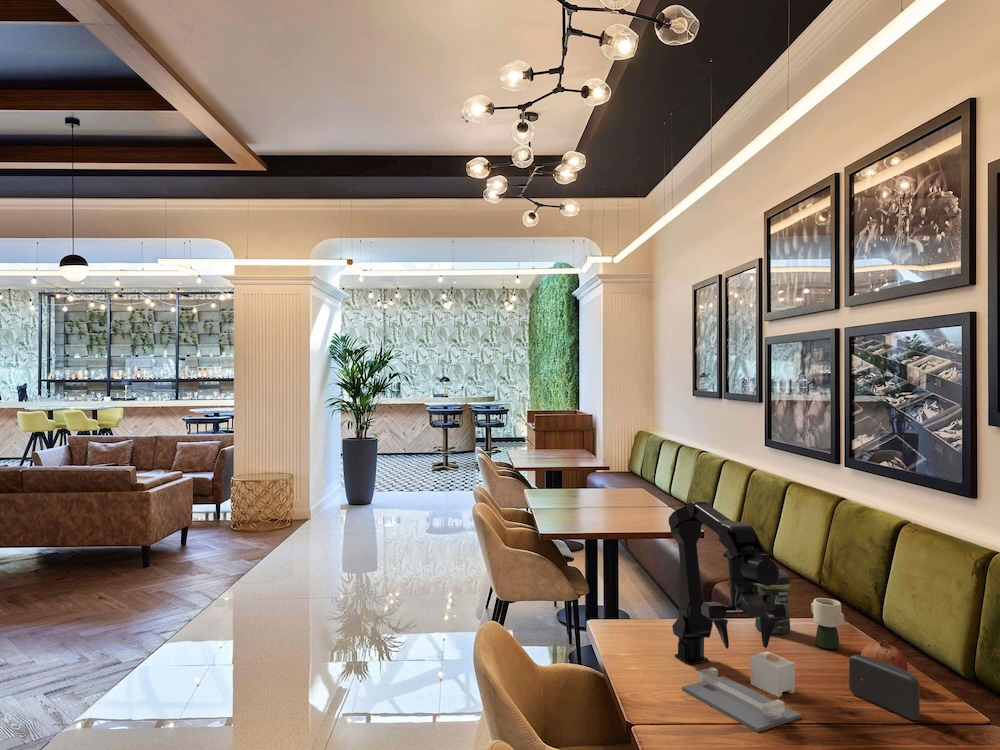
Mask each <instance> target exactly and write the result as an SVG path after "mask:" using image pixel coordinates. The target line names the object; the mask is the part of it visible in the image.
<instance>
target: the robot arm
mask: <svg viewBox="0 0 1000 750" xmlns="http://www.w3.org/2000/svg"><path fill="white" fill-rule="evenodd" d="M668 525H669V528H670V533H671V536H672V538H673V539H674V540H675V542H677V545H678V546H677V547H678V553H679V554H678V555H679V564H680V566H679V567H680V575H681V585H682V587H681V588H682V593H683V599H682V602H681V604H680V606H679V608H678V618H677V619H676V620H675V622H674V623H673V624H672V626H671V627H672V632H673V635H674V636H676V637H678V642H677V653H674V657H675V658H677V659H679V660H681V661H683V662H685V663H687V664H688V665H696V664H699V663H700V664H701V663H704V662H708V661H709V658H708V657H705V639H706V638H708V639H709V638H710V637H711V634H712V630H713V624H714V626H715V628H716V629H717V632H718V633H719V637H720V639H721V641H722V644H723V646H724V648H725V649H726V650H728V649H729V645H730V643H729V635H728V627H727V626H728V624H729V623H728V622H729V620H728V619H726V616H728V615H740V614H741V615H743V614H744V616H745V617H747V618H749V619H754V618H756V617H760V624H761V631H760V632H761V641H762V646H763V648H764V649H766V648H768V645H769V642H770V638H771V635H772V634H771V632H772V630H773V627H774V625H775V624H776V623H777V622H778V621H782V618H780V617H788V615H787V608H786V606H785V605H784V604H782V603H779V602H777V601H775V599H774V596H773V595H772V594H764V595H759V592H758V586H757V583H758V584H762V585H766V586H771V585H773V584H775V582H776V581H777V579H778V576H779V570H778V569H779V568H778V566H777V565H776V563H775V562H774V561H773V560H771V557H770V554H768V553H766V550H765V547H764V545H763V544H762V542H761V540H760V538H759V537H758V534H757V532H756V531H755V529H754V527H753V526H751V525H750V524H747V523H744V522H741V521H740V522H739V521H735V520H733V519H730V518H729V517H727V516H726V515H724V514H723V513H721V512H720V511H719V510H717V509H715V508H714V507H713V506H711V505H710V503H709V502H707V501H704V500H702V501H699V500H698V501H691V502H688V503H687V504H686V505H684V506H682V507H680V508H678V509H676V510H674V511H672V513H671V514H670V516H669V517H668ZM703 525H705V526H706V527H707V528H708V529H710V531H712V532H714V533H715V534H717V536H718V541H719V542H720V543H721V545H723V547H724V548H725V549H726V551H724V552H723V554H722V556H723V558H727V566H728V567H727V568H728V581H726V583H727V587H729V599H727V600H728V604H729V605H724V604H722V603H720V602H718V601H705V600H704V599H703V592H702V591H703V589H702V583H701V574H700V563H699V555H698V554H699V553H698V542H699V539H700V538H701V535H702V526H703Z"/></svg>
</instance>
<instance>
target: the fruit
mask: <svg viewBox="0 0 1000 750" xmlns="http://www.w3.org/2000/svg"><path fill="white" fill-rule="evenodd" d="M860 656H865V657H870V658H874V659H877V660H881V661H884V662H887V663H889V664H892V665H895V666H897V667H899V668H901V669H903V670H905V671H907V672H908V671H909V670H908V669H909V668H908V667H909V666H908V665H909V664H908V661H907V658H906V657H905V655H904V654H903V652H902V651H901V650H900V649H898V648H897V647H895V646H893V645H890V644H889V642H888V641H886V640H884V639H882V640H881V641H879V642H874V643H869V644H866V646H865V647H864V648H863V649H862V650H861V653H860Z"/></svg>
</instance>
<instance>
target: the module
mask: <svg viewBox="0 0 1000 750" xmlns="http://www.w3.org/2000/svg"><path fill="white" fill-rule="evenodd" d="M750 685H752V686H754V687H755V688H757V689H760V690H762V689H763V690H762V691H763V692H766V691H767V692H766V693H768V692H769V693H768V694H770V693H771V694H770V695H772V694H774V695H776V696H778V697H777V698H780V697H779V696H782V697H783V692H787V691H789V692H794V691H795V692H796V662H793V661H792V660H788V659H786V658H784V657H782V656H780V655H776V654H775V653H772V652H769V651H764V652H759V653H755V654H751V655H750ZM789 692H788V693H789ZM774 695H773V696H774ZM776 696H775V697H776Z"/></svg>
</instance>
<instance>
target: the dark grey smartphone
mask: <svg viewBox="0 0 1000 750" xmlns="http://www.w3.org/2000/svg"><path fill="white" fill-rule="evenodd" d="M848 673H849V675H848V681H849V683H848V684H849V686H848V687H849V688H848V689H849V691H850V692H851V694H853V695H854V696H856V697H858V696H859V697H858V698H860V699H863V700H866V701H867V700H868V701H867V702H869V701H870V703H872V702H873V703H872V704H874V703H875V704H874V705H876V704H877V705H876V706H878V705H879V707H881V708H883V707H884V709H885V708H886V709H885V710H887V709H888V710H887V711H890V712H892V711H893V712H892V713H894V712H895V713H894V714H896V713H897V715H899V716H901V715H902V717H903V716H904V718H905V717H906V719H908V718H909V719H908V720H910V719H911V720H910V721H914V720H915V721H918V720H919V719H920V718H921V717H920V716H921V714H920V713H921V710H920V709H921V707H920V705H921V704H920V703H921V702H920V701H921V700H920V699H921V698H920V695H921V694H920V682H919V680H918V678H916V676H914V675H913V673H910V672H909V671H908V670H907V671H905V670H903V669H901V668H899V667H897V666H895V665H892V664H889V663H887V662H884V661H881V660H877V659H874V658H870V657H865V656H861V654H854V655H851V656H850V657H849V659H848Z"/></svg>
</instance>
